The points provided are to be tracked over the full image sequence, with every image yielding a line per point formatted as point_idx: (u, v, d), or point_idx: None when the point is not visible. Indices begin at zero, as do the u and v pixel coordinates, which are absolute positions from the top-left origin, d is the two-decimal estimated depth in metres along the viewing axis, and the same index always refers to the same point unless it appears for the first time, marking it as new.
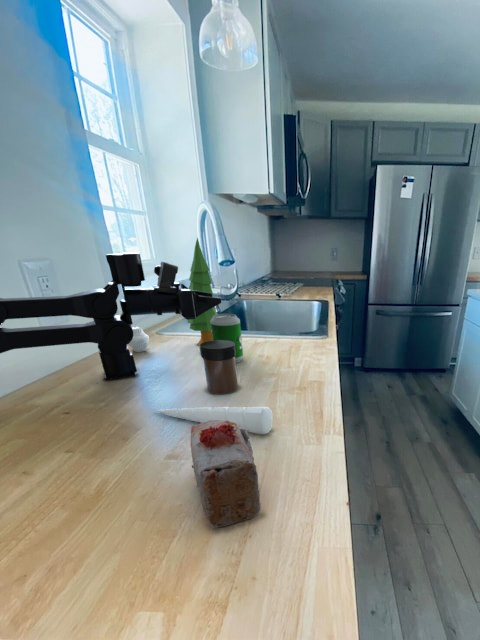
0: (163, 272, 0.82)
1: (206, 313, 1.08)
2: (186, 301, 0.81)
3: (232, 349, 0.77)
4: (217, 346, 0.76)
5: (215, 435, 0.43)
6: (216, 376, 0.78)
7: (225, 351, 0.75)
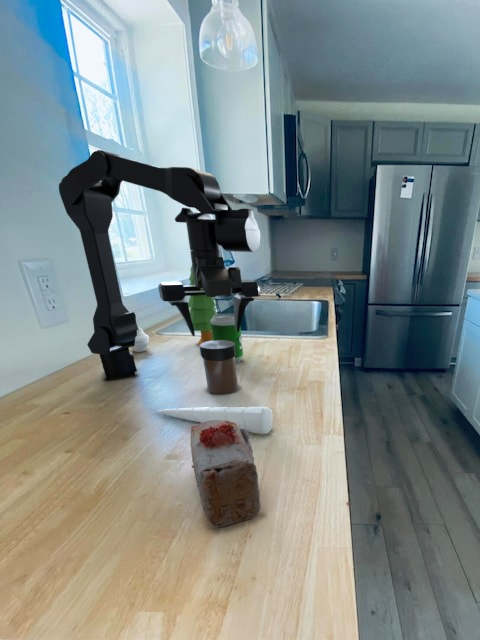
0: (203, 276, 0.65)
1: (206, 313, 1.08)
2: (160, 292, 0.68)
3: (232, 349, 0.77)
4: (217, 346, 0.76)
5: (215, 435, 0.43)
6: (216, 376, 0.78)
7: (225, 351, 0.75)
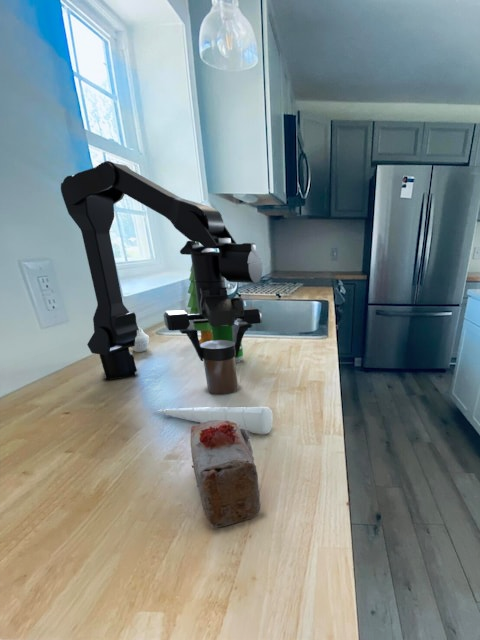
0: (207, 307, 0.68)
1: None
2: (166, 321, 0.70)
3: (232, 349, 0.77)
4: (217, 346, 0.76)
5: (215, 435, 0.43)
6: (216, 376, 0.78)
7: (225, 351, 0.75)
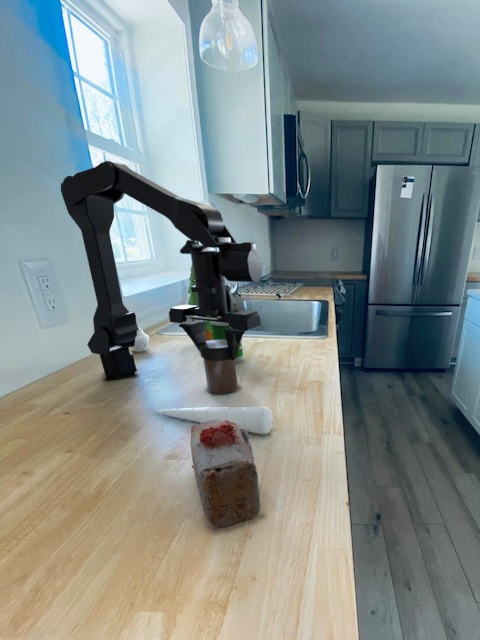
0: (239, 297, 0.78)
1: None
2: (256, 319, 0.73)
3: None
4: (223, 342, 0.79)
5: (215, 435, 0.43)
6: (216, 376, 0.78)
7: None
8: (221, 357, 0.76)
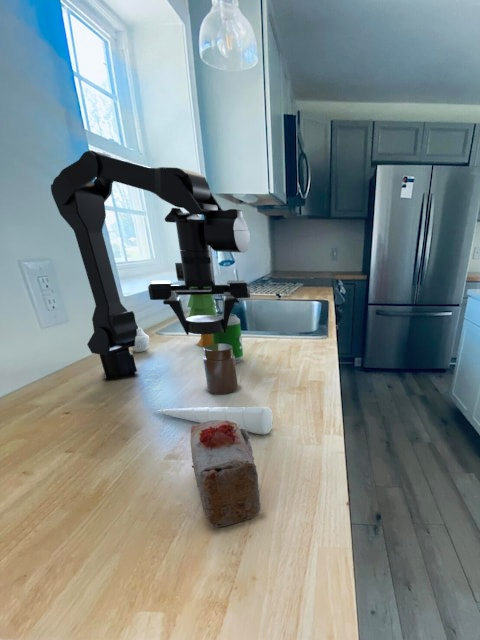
0: None
1: (206, 313, 1.08)
2: None
3: None
4: (206, 316, 0.77)
5: (215, 435, 0.43)
6: (216, 376, 0.78)
7: None
8: (219, 330, 0.75)
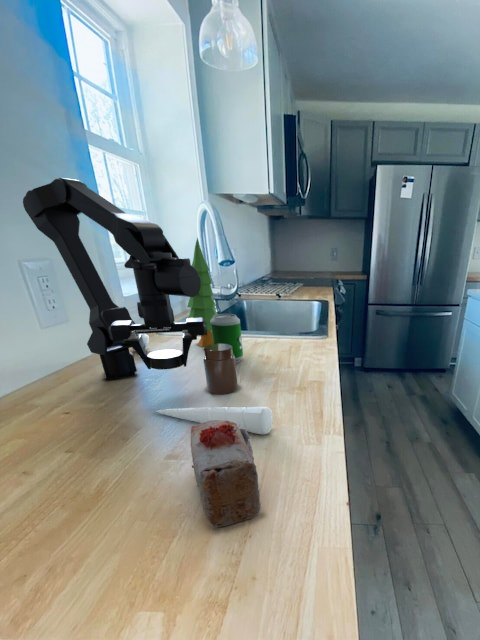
0: None
1: (206, 313, 1.08)
2: None
3: None
4: (167, 351, 0.82)
5: (215, 435, 0.43)
6: (216, 376, 0.78)
7: None
8: (178, 365, 0.80)
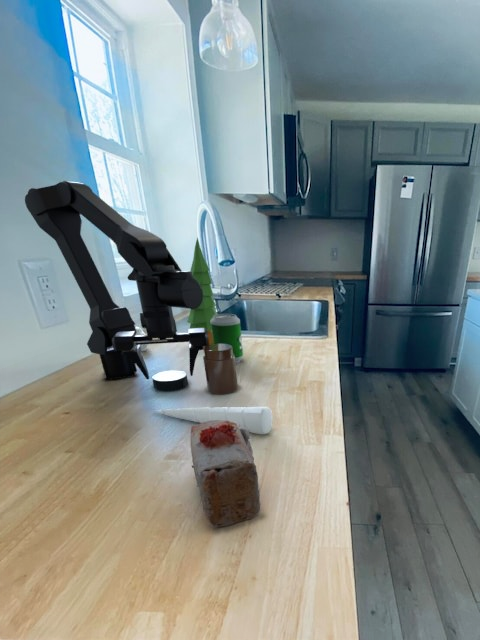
0: None
1: (206, 313, 1.08)
2: None
3: None
4: (171, 372, 0.84)
5: (215, 435, 0.43)
6: (216, 376, 0.78)
7: None
8: (182, 386, 0.82)
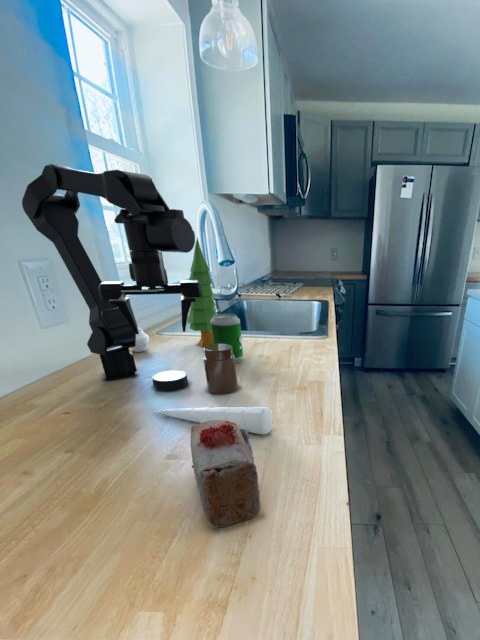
0: None
1: (206, 313, 1.08)
2: None
3: None
4: (171, 372, 0.84)
5: (215, 435, 0.43)
6: (216, 376, 0.78)
7: None
8: (182, 386, 0.82)
